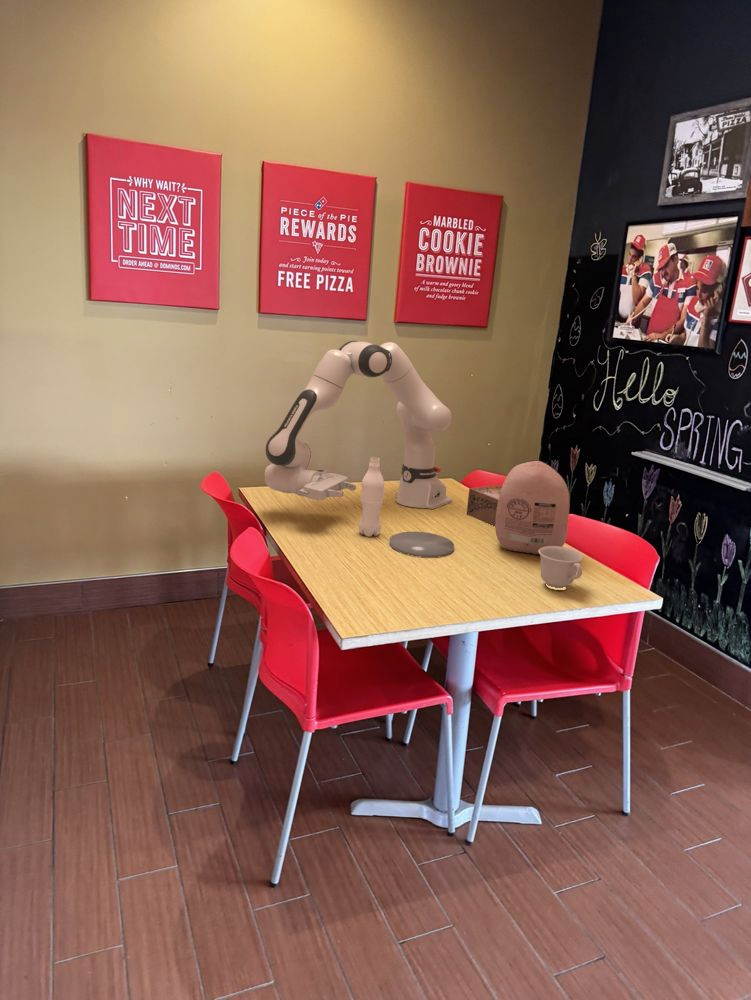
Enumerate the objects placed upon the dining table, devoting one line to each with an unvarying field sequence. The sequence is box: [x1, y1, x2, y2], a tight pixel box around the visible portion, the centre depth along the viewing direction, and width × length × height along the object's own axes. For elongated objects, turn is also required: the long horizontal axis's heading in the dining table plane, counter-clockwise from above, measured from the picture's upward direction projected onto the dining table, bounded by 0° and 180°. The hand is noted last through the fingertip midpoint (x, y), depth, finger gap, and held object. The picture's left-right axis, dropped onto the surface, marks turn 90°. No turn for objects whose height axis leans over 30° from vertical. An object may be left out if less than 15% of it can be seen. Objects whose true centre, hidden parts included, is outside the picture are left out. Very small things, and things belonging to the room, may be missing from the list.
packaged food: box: [494, 459, 570, 555], centre depth 221 cm, size 22×20×30 cm
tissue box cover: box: [466, 484, 503, 527], centre depth 252 cm, size 26×14×10 cm, turn 34°
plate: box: [388, 531, 455, 558], centre depth 223 cm, size 20×20×1 cm
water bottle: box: [358, 456, 385, 538], centre depth 227 cm, size 7×7×25 cm
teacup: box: [538, 546, 584, 588], centre depth 197 cm, size 12×15×10 cm
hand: (348, 491), depth 230 cm, fingers open, 8 cm apart
